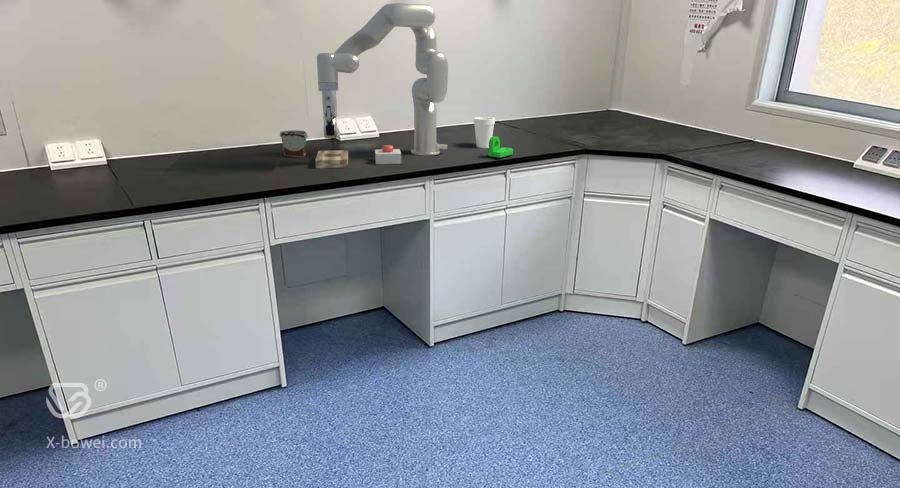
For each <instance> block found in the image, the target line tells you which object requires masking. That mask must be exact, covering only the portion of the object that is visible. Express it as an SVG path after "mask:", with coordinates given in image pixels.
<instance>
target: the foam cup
mask: <svg viewBox="0 0 900 488" xmlns="http://www.w3.org/2000/svg"><path fill="white" fill-rule="evenodd" d="M495 123H496V119H495V117H492V116H476V117H473V124H474V134H475V135H474V136H475V142H476V143H475V145H476V148H480V149H489V140H490V138H491V137H492V136H494V135H493V134H494V129H495V128H494V127H495Z"/></svg>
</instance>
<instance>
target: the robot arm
mask: <svg viewBox="0 0 900 488" xmlns="http://www.w3.org/2000/svg"><path fill="white" fill-rule="evenodd" d="M435 20H436V12H435V10H434V8H433V7H432V6H430V5H429V4H424V3H423V4H421V3H419V4H418V3H403V2H401V3H400V2H396V3H395V2H394V3H393V2H392V3H386V4H384V5H383V6H382V7H380V9H378V10H377V12H375V14H374V15H373V16H372V17H371V18H369V20H368V21H367V23H365V24H364V26H362V28H360V29H359V30H357V32H356V31H355V33H354V34H352V35H351V36H350V37H348V38H347V39H346V40H345V41H344V42H343V43H342V44H341V45H340V46H339V47H338V48H337V49H336V50H335V51H334V53H332V52H320V53H318V54H316V55H317V56H316V68H317V70H316V71H317V87H318V91H319V92H321V101H322V111H323V113H322V114H323V116H324V117H325V118H326V136H334V135H335V134H334V125H333V116H335V118H336V119H337V116H338V104H337V102H338V101H337V100H338V99H337V92H338V91H339V75H338V73H345V74H352V73H355V72H356V71H357V70H358V69H359V67H360V59H359V58H358V56H360V55H361V54H362V53H364V52H366V51H368V50H370V49H374V48H375V47H377V46H379V45H380V43H381V42H382V41H383V40H384V39H385V38H386V37H387V36H388V35H389V34H390V33H391V31H392V30H393V29H394V28H397V27H401V28H403V27H404V28H410V29H411V30H412V32H413V34H414V37H415V62H414V63H415V69H416V71H417V72H418V73H420V74H422V75H426V77H420V78H417V79H416V80H415V81H414V83H413V84H412V87H411V96H412V103H413V119H414V120H413V124H414V125H413V127H414V128H413V129H414V130H413V132H414V134H413V139H414V141H413V142H414V144H413V145H414V149H410V154H412V155H415V156H424V157H425V156H436V155H439V154H440V153H441V150H447V149H448V144H444V143H442V144H441V143H438V142H437V105H436V104H439V103H441V102H443V101H444V100H445V98H446V97H447V94H448V93H447V92H448V82H449V81H448V77H449V64H448V59H447V57H446V56H445V54H444V53H443V52H441V51H438V47H437V46H438V45H437V34H436V31H435V28H434V26H433V24H434V22H435ZM331 116H332V117H331Z"/></svg>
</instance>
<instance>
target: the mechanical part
mask: <svg viewBox="0 0 900 488" xmlns="http://www.w3.org/2000/svg"><path fill="white" fill-rule="evenodd" d="M513 154H514V148H511V147H501V140H500V137H499V136H494V135H492V137H491V138H490V140H489V148H488V157H493V158H503V157H504V158H505V157H508V156H511V155H513Z"/></svg>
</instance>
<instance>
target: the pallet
mask: <svg viewBox="0 0 900 488" xmlns="http://www.w3.org/2000/svg"><path fill="white" fill-rule="evenodd" d="M314 163H315V168H316V169H336V168H337V169H338V168H339V169H340V168H343V169H344V168H348V165H349V150H348V149H347V150H346V149H343V150H338V149H337V150H318V152H317V154H316V157H315V161H314Z"/></svg>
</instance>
